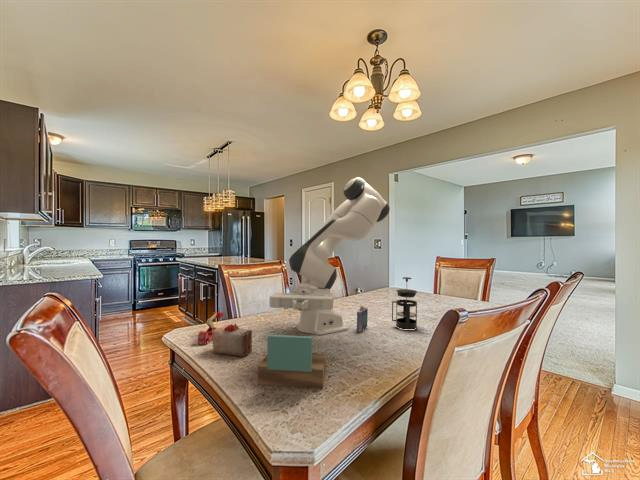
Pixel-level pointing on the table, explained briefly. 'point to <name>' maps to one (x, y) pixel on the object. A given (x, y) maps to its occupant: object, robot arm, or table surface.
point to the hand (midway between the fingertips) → (298, 306)
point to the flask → (362, 318)
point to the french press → (405, 309)
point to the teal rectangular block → (289, 353)
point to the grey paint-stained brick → (232, 341)
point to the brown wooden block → (294, 374)
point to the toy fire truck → (209, 329)
